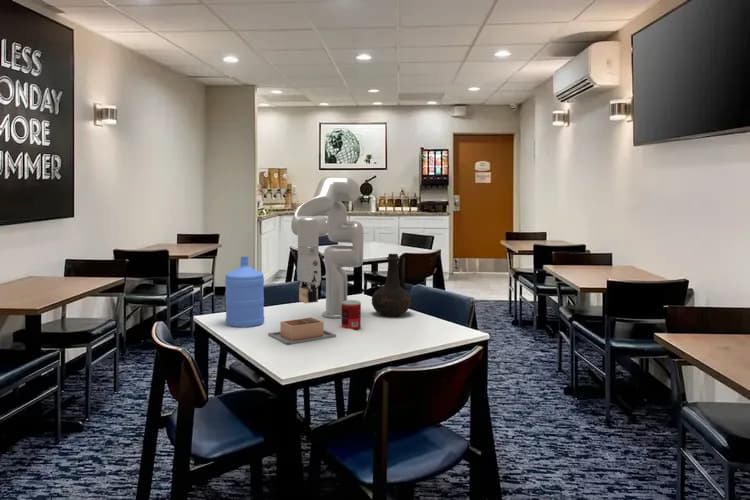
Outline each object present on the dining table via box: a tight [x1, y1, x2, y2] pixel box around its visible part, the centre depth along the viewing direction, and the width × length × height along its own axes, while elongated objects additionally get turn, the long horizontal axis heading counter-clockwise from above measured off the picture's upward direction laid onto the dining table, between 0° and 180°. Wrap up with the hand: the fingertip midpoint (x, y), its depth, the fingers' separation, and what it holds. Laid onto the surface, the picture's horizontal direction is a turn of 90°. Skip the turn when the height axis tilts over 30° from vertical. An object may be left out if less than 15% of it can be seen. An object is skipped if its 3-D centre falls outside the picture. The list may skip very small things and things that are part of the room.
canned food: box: [341, 299, 362, 331], centre depth 216 cm, size 8×8×11 cm
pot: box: [279, 317, 325, 341], centre depth 200 cm, size 13×9×6 cm
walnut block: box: [300, 319, 318, 325], centre depth 201 cm, size 5×5×5 cm
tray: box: [267, 329, 337, 346], centre depth 200 cm, size 20×16×2 cm
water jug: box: [224, 256, 265, 328], centre depth 222 cm, size 16×16×28 cm
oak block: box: [298, 286, 319, 304], centre depth 196 cm, size 5×5×5 cm
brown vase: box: [371, 253, 412, 317], centre depth 242 cm, size 18×18×28 cm
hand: (308, 300), depth 196 cm, fingers closed on oak block, 5 cm apart
